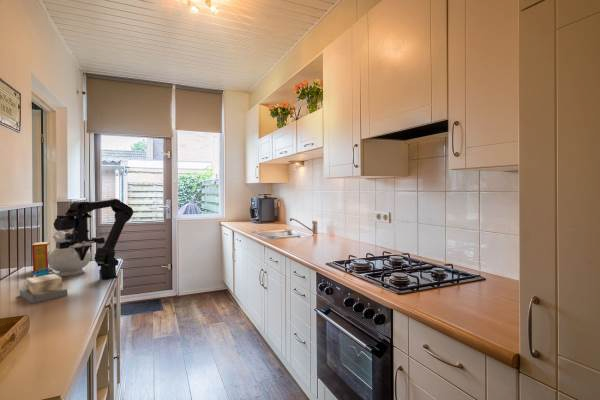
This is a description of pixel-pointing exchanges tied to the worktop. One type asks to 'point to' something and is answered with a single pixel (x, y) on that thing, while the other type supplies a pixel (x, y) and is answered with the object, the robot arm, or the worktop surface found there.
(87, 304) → the worktop surface
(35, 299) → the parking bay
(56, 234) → the ceramic pitcher
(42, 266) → the baking soda box
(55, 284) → the oak block
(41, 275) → the gear
